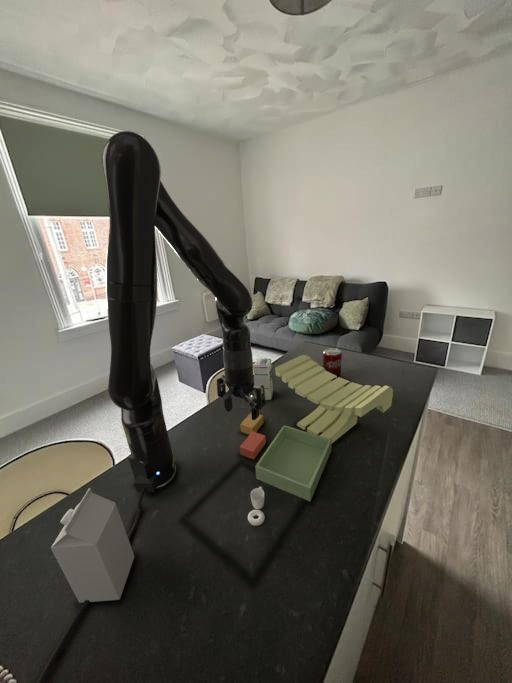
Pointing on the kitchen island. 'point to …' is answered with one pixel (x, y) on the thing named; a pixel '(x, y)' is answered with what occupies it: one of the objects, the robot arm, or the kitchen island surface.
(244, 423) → the block
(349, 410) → the slatted curved stool
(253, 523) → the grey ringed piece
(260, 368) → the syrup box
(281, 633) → the kitchen island surface
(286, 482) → the basket
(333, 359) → the soda can
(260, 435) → the block
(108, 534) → the milk carton
